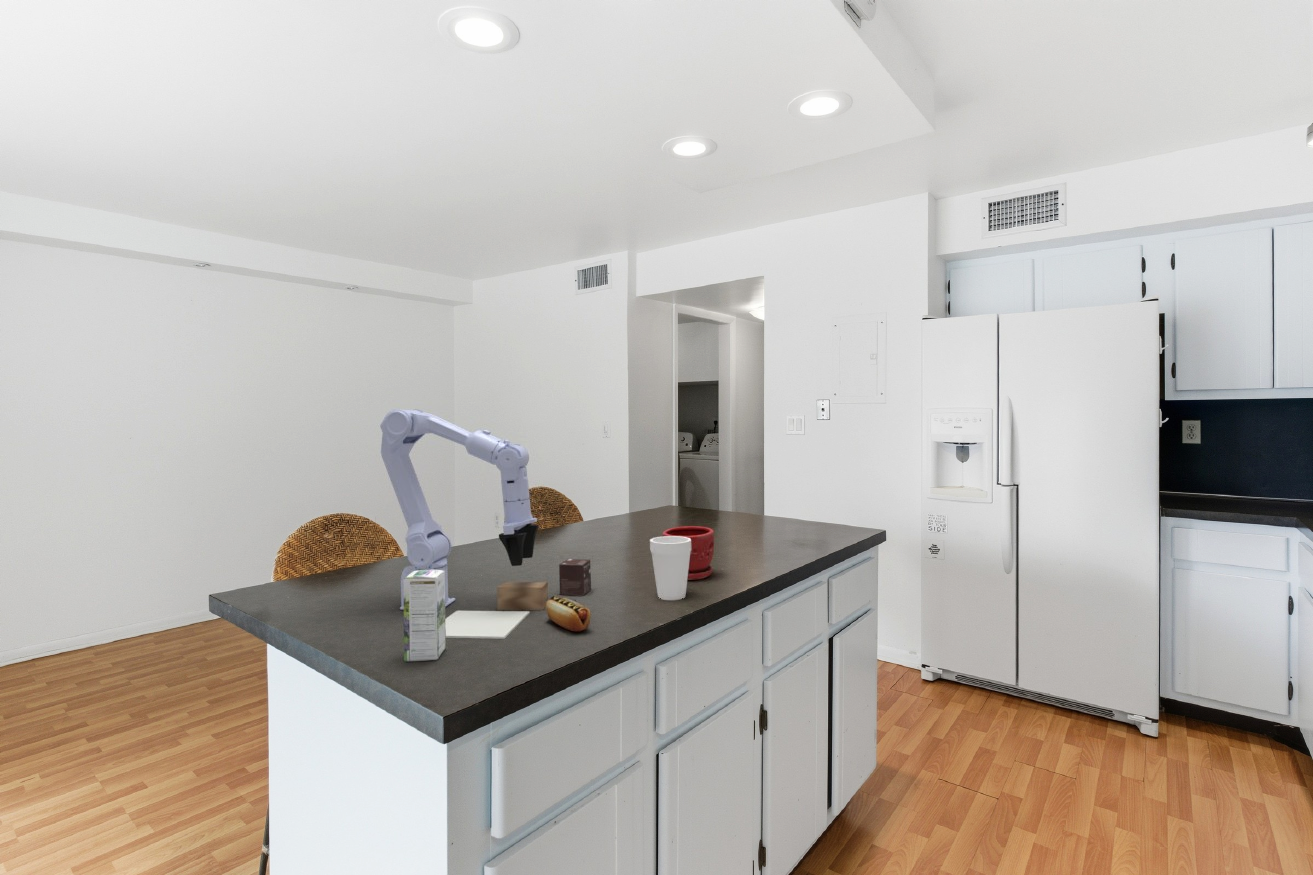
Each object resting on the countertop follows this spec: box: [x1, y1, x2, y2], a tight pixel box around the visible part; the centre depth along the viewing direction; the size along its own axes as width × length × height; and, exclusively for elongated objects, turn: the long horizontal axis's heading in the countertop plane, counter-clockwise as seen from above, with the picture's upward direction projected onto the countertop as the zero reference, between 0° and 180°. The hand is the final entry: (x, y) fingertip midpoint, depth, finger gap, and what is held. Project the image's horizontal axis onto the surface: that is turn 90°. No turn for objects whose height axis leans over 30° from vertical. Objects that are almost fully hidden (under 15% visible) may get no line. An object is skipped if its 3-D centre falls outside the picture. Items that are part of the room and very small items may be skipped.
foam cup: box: [649, 536, 691, 601], centre depth 149 cm, size 10×9×13 cm
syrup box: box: [403, 570, 447, 662], centre depth 114 cm, size 6×6×14 cm
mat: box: [445, 610, 531, 640], centre depth 131 cm, size 16×16×1 cm
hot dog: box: [545, 595, 592, 632], centre depth 129 cm, size 5×13×5 cm, turn 36°
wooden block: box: [496, 581, 549, 611], centre depth 143 cm, size 10×4×5 cm, turn 84°
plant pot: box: [662, 525, 715, 581], centre depth 167 cm, size 13×13×12 cm
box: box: [558, 558, 592, 597], centre depth 154 cm, size 6×6×7 cm
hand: (522, 561), depth 143 cm, fingers open, 7 cm apart
